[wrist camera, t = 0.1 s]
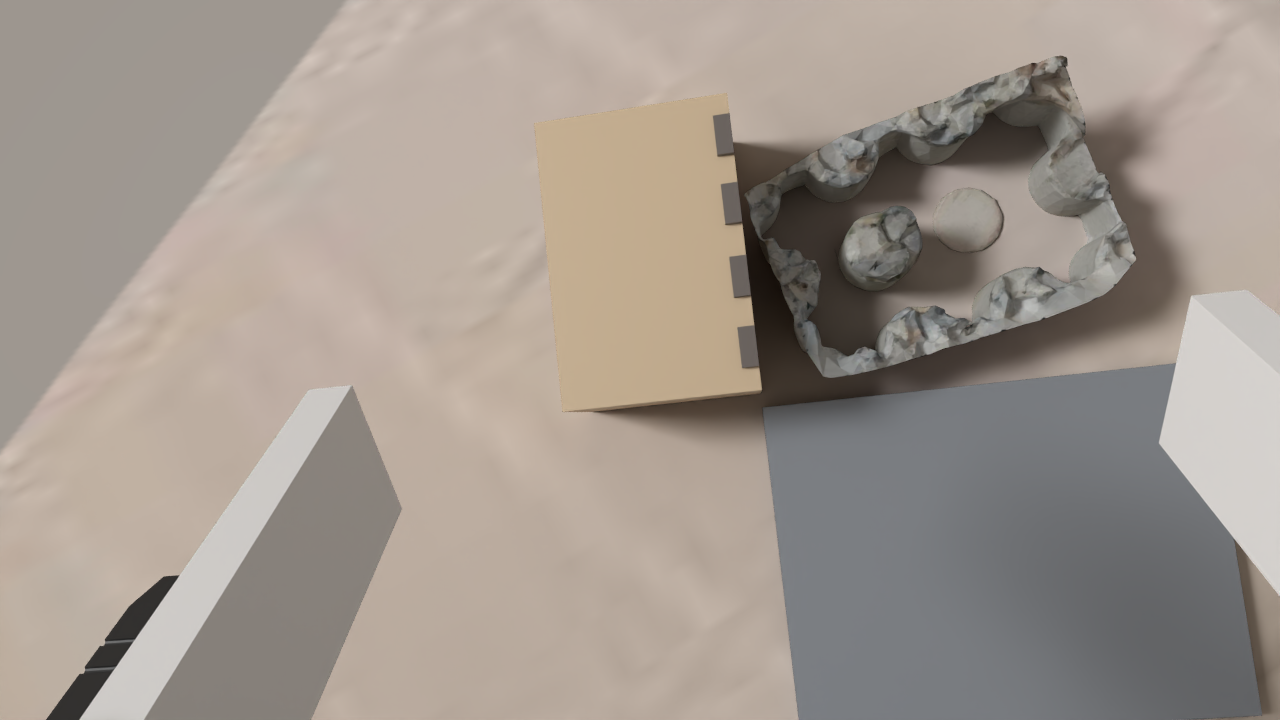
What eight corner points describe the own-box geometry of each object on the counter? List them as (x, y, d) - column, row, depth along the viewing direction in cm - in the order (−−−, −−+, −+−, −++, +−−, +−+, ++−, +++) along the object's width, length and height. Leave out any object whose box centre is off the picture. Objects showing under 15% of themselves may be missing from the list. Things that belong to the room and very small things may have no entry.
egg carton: (1034, 91, 28) (1082, 37, 24) (1111, 297, 28) (1175, 276, 23) (736, 193, 29) (735, 157, 25) (803, 394, 29) (813, 390, 25)
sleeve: (760, 393, 29) (761, 389, 24) (591, 411, 29) (560, 411, 25) (730, 141, 29) (726, 90, 25) (566, 165, 30) (532, 120, 25)
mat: (1250, 708, 26) (1262, 715, 25) (800, 734, 28) (801, 740, 27) (1195, 361, 27) (1205, 360, 26) (762, 407, 28) (762, 407, 28)
